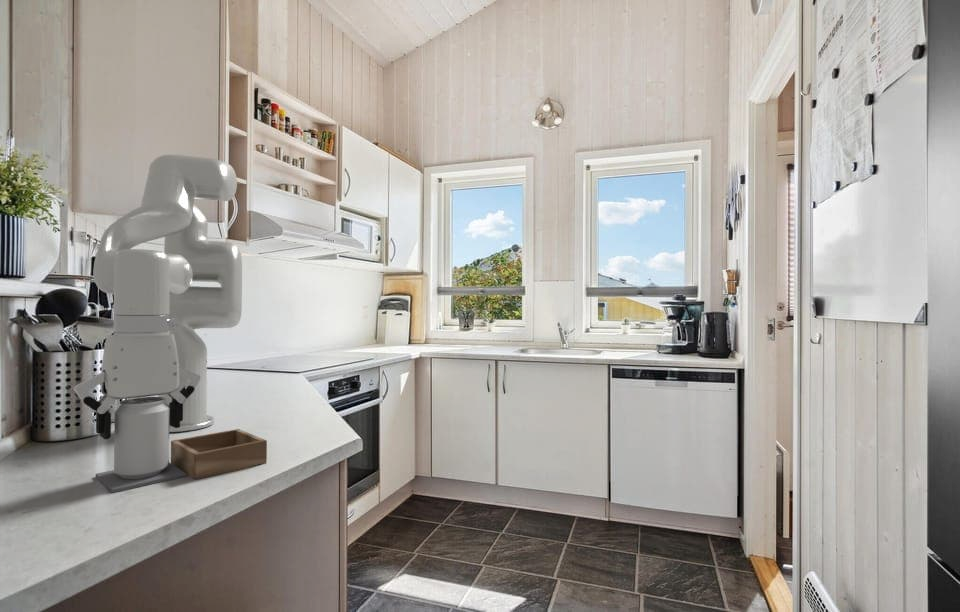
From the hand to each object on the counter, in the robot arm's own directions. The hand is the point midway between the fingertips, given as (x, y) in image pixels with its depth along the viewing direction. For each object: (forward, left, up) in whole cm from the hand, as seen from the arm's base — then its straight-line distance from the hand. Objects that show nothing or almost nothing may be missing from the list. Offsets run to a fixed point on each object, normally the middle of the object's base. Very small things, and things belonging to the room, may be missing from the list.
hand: (141, 431), depth 82 cm
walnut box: (+2, +11, -7) cm, 14 cm away
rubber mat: (0, 0, -7) cm, 7 cm away
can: (0, 0, -7) cm, 7 cm away
